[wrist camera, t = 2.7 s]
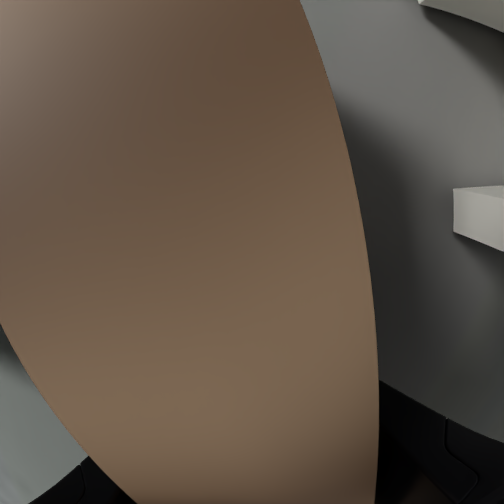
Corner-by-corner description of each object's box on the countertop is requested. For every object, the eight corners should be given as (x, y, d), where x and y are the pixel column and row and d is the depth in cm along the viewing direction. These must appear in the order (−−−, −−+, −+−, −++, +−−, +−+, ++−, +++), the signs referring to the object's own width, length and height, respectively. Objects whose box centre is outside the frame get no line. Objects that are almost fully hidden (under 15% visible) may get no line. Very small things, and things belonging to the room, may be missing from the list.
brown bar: (337, 479, 10) (364, 568, 6) (260, 497, 11) (269, 588, 6) (237, 47, 6) (244, -107, 1) (99, 93, 6) (-50, 34, 1)
